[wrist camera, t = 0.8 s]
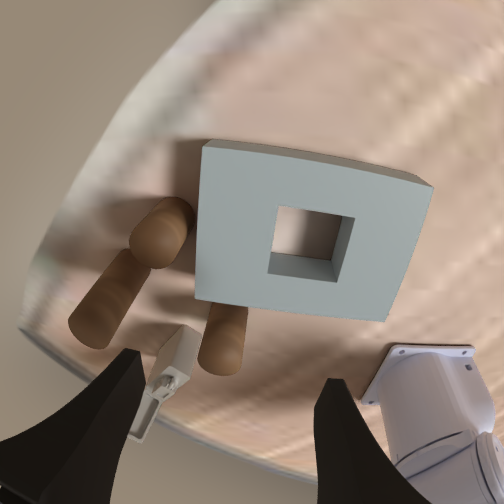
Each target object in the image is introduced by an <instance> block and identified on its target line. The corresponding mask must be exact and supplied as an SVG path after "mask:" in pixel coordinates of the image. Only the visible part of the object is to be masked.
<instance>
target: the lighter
mask: <svg viewBox="0 0 504 504" xmlns="http://www.w3.org/2000/svg"><path fill="white" fill-rule="evenodd" d="M201 338H202V336H201V334H200V333H198V332H197V331H195V330H193V329H192V328H190V327H189V326H187V325H183V326H182V327H181V328H180V329H179V330H178V331H177V332H176V333H175V334H174V335H173V336H172V337H171V338H170V339H169V340H168V341H167V342H166V343H165V344H164V345H163V346H162V347H161V348H160V351H159V353H158V356H157V358H156V361H155V363H154V366H153V369H152V371H151V374H150V376H149V379H148V382H147V384H146V387H145V388H146V389H144V392H143V396H142V400H141V403H140V406H139V409H138V411H137V414H136V416H135V419H134V421H133V424H132V426H131V429H130V431H129V433H128V436H127V437H128V438H130V439H132V440H134V441H136V442H138V443H143V441H144V439H145V437H146V435H147V433H148V431H149V429H150V427H151V425H152V423H153V421H154V419H155V417H156V415H157V413H158V410H159V408H160V406H161V404H162V402H165V401H166V400H167V399H169V398H170V397H171V396H173V395H174V394H175V392H176V390H177V389H178V388H179V387H181V386H182V385H183V384H184V383H186V382H187V381H188V380H190V378H191V374H192V371H193V367H194V363H195V360H196V356H197V352H198V349H199V345H200V341H201Z"/></svg>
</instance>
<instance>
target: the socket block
mask: <svg viewBox="0 0 504 504" xmlns="http://www.w3.org/2000/svg"><path fill="white" fill-rule="evenodd" d="M433 190H434V187H432V186H431V185H429V184H428V183H427V182H425V181H424V180H422V179H421V178H420V177H418V176H417V175H414V174H410V173H406V172H402V171H398V170H394V169H390V168H386V167H381V166H377V165H373V164H368V163H364V162H359V161H354V160H350V159H345V158H340V157H335V156H329V155H324V154H319V153H313V152H307V151H301V150H295V149H289V148H282V147H275V146H268V145H261V144H253V143H245V142H237V141H228V140H218V139H212V140H210V141H209V142H208V143H206V144H205V145H204V146H202V159H201V172H200V187H199V203H198V221H197V242H196V268H195V299H199V300H205V301H211V302H218V303H225V304H231V305H238V306H245V307H252V308H260V309H267V310H275V311H283V312H291V313H299V314H308V315H317V316H326V317H335V318H345V319H356V320H366V321H378V322H385V320H386V318H387V316H388V313H389V311H390V309H391V307H392V304H393V302H394V300H395V297H396V295H397V293H398V290H399V288H400V285H401V283H402V280H403V278H404V275H405V273H406V270H407V268H408V265H409V263H410V260H411V257H412V254H413V252H414V249H415V246H416V243H417V241H418V238H419V235H420V232H421V229H422V226H423V223H424V220H425V217H426V213H427V210H428V207H429V204H430V200H431V197H432V194H433ZM278 206H285V207H292V208H298V209H305V210H311V211H317V212H323V213H329V214H335V215H341V216H342V220H341V224H340V228H339V232H338V236H337V240H336V244H335V247H334V251H333V255H332V259H331V261H329V260H322V259H315V258H308V257H301V256H294V255H286V254H279V253H272V252H271V248H272V242H273V236H274V230H275V224H276V218H277V212H278Z"/></svg>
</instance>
